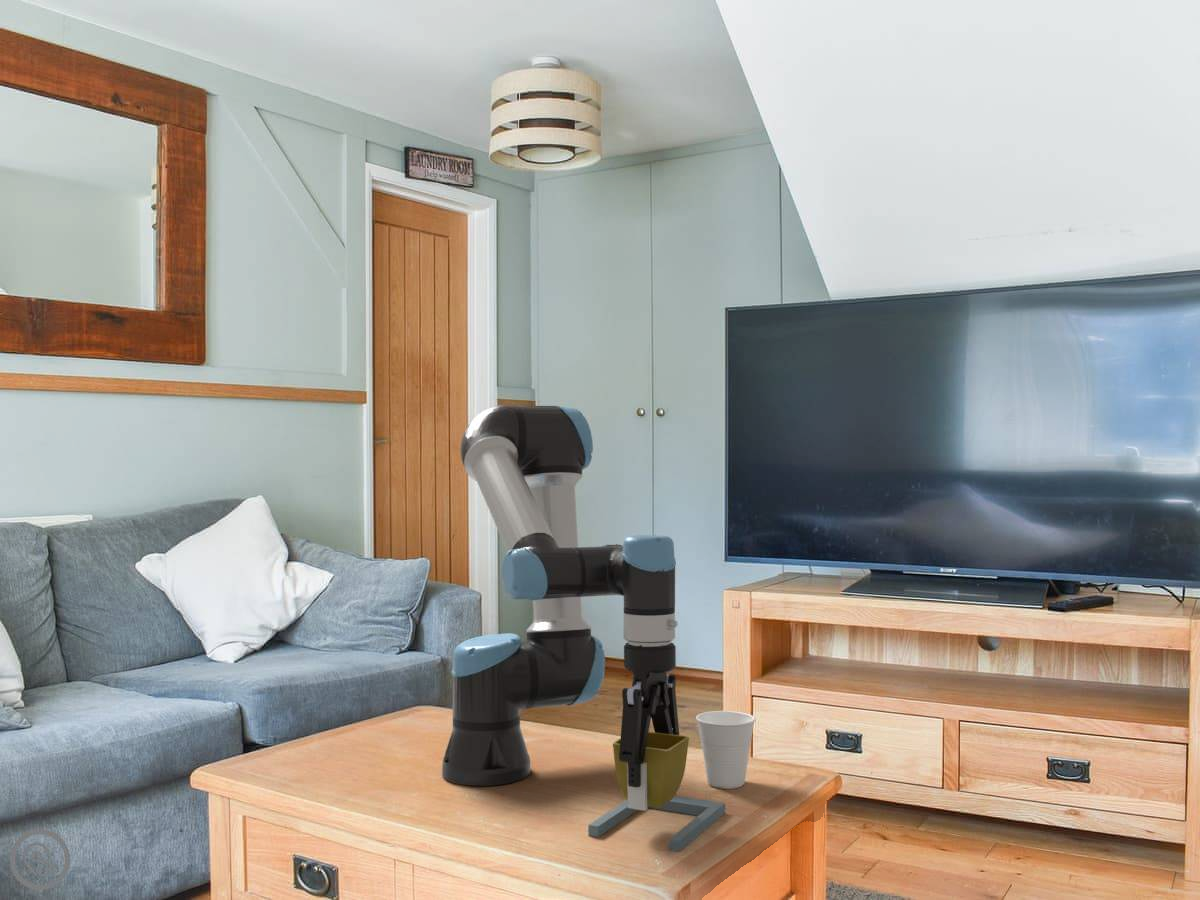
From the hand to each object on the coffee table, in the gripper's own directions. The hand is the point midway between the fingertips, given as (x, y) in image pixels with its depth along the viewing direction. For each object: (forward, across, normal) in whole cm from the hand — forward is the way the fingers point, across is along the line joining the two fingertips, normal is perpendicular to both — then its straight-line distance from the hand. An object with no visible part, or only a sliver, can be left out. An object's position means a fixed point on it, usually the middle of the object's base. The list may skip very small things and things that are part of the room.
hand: (650, 799), depth 147 cm
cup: (+5, +26, -2) cm, 27 cm away
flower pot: (+1, 0, 0) cm, 1 cm away
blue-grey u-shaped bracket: (+4, +3, 0) cm, 5 cm away
